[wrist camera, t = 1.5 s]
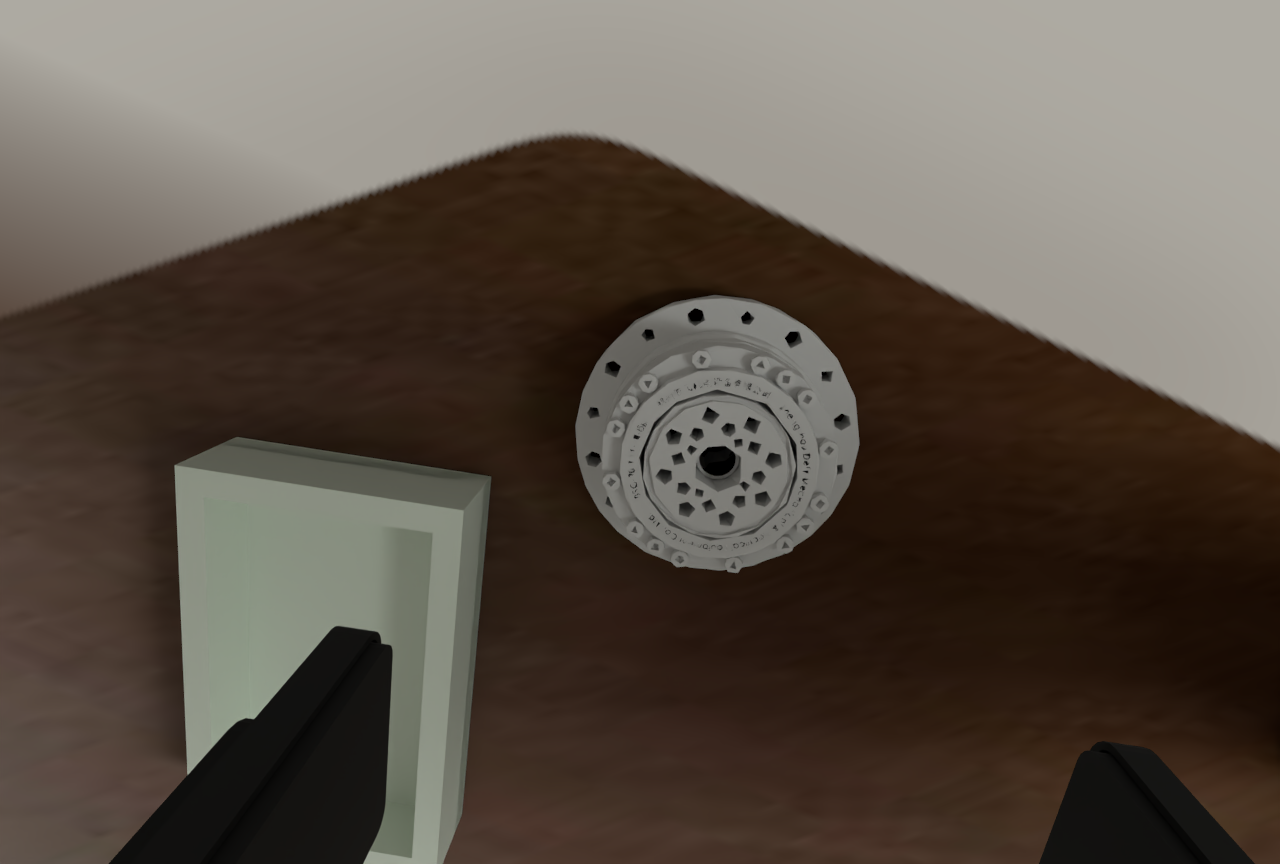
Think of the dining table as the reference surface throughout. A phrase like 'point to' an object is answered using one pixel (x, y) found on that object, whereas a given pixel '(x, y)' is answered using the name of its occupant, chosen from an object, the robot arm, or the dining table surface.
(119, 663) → the dining table surface
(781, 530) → the mechanical component
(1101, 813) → the robot arm
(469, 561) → the tray
